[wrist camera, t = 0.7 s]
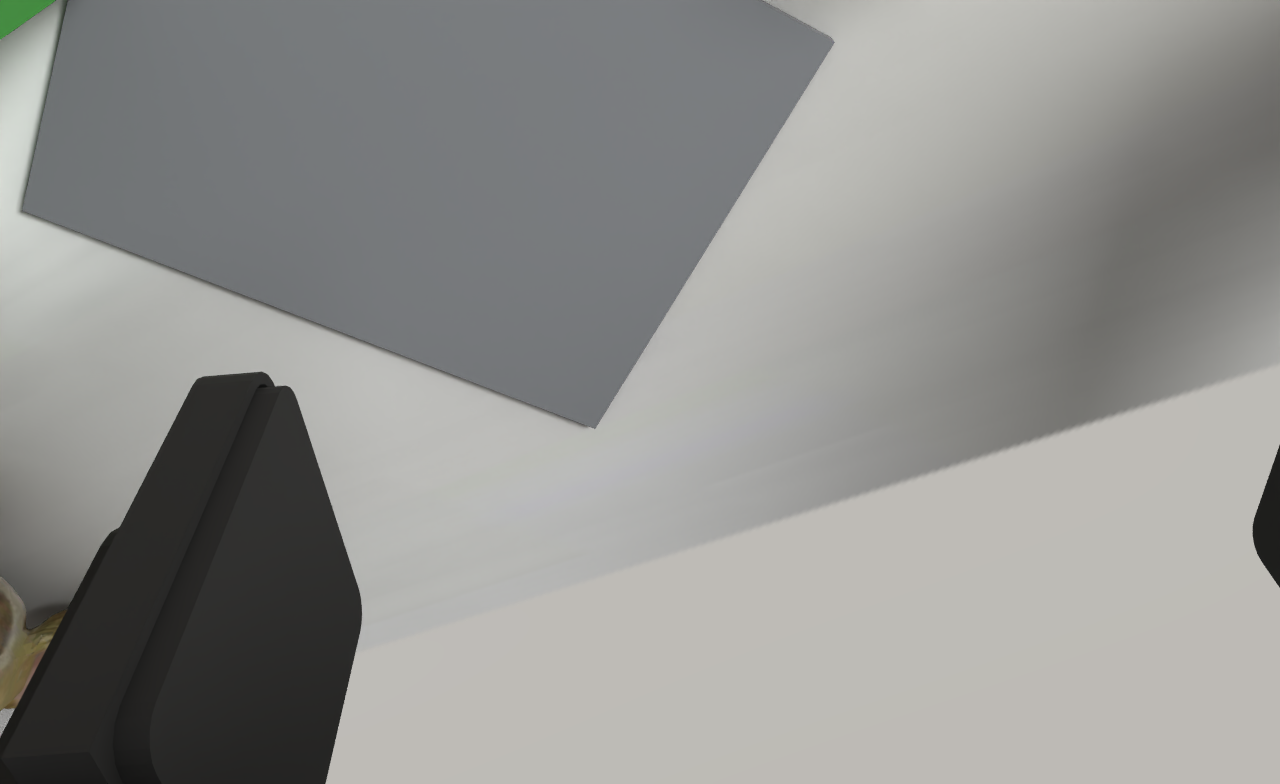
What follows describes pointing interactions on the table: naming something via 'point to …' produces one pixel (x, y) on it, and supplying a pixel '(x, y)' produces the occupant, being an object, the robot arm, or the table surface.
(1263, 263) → the table surface
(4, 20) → the hardback book
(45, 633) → the ceramic sculpture
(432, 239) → the mouse pad
